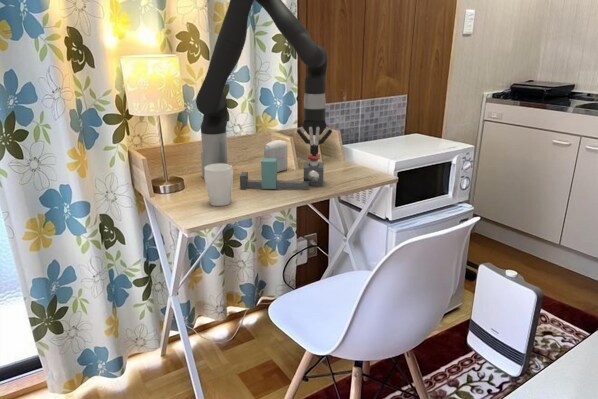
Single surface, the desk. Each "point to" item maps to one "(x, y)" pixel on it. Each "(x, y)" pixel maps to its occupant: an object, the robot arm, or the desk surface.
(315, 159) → the plunger
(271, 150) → the white rounded block
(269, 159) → the carriage
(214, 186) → the cup
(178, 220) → the desk surface
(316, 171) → the rail unit
